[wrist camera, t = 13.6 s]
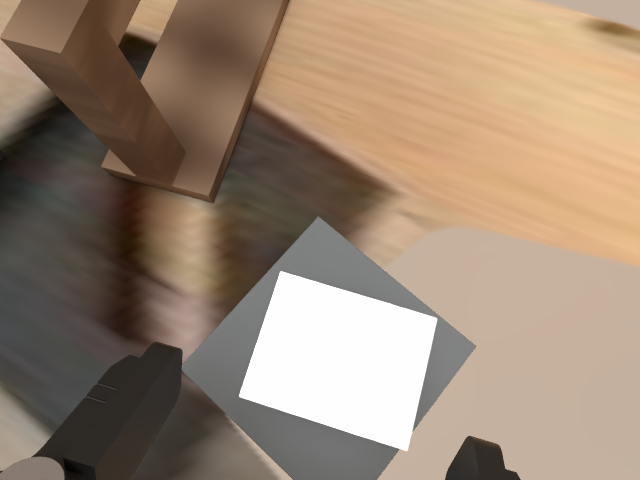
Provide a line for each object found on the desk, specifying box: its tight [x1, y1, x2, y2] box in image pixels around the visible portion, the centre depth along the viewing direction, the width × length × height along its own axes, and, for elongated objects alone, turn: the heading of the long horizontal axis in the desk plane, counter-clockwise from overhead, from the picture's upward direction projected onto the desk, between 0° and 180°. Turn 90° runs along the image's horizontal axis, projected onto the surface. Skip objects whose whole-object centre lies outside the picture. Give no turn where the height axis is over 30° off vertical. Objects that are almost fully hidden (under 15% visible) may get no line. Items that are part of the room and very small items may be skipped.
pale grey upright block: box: [239, 272, 437, 451], centre depth 17 cm, size 4×5×8 cm
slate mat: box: [182, 217, 476, 480], centre depth 21 cm, size 10×10×1 cm
